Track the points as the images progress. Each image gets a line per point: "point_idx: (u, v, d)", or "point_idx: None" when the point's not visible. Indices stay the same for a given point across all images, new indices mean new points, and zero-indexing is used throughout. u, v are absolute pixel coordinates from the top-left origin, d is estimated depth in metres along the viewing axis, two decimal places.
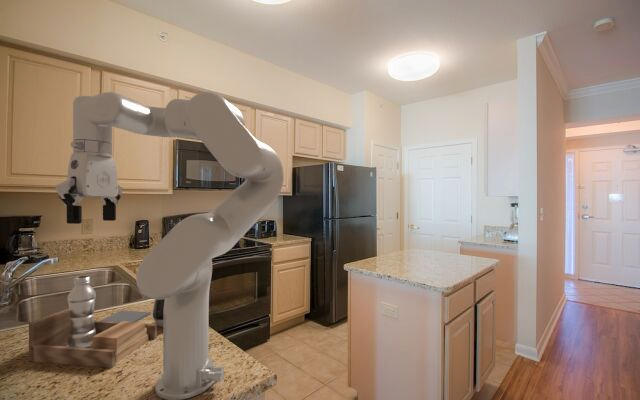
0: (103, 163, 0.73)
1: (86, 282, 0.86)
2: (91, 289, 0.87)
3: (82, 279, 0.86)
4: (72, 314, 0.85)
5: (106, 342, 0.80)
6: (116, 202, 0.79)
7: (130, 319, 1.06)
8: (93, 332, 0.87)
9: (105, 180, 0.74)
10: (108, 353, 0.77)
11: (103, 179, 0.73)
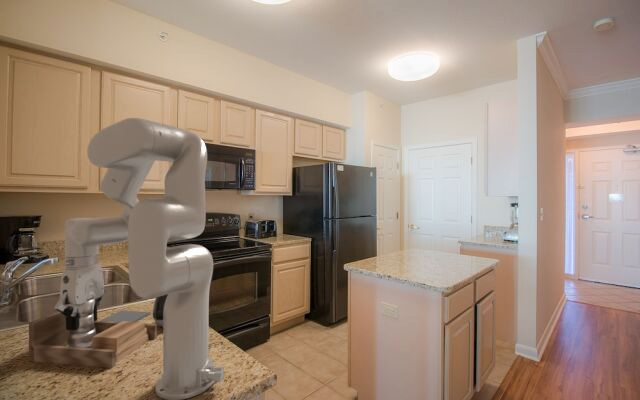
0: (90, 272, 0.87)
1: None
2: None
3: None
4: None
5: (106, 342, 0.80)
6: (97, 304, 0.91)
7: (130, 319, 1.06)
8: (93, 332, 0.87)
9: (92, 286, 0.87)
10: (108, 353, 0.77)
11: (90, 286, 0.87)
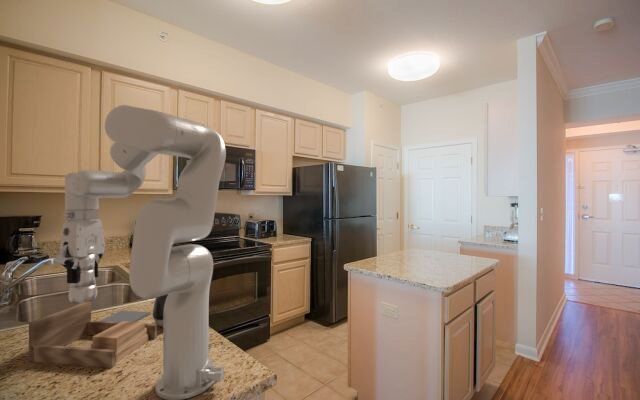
0: (91, 227, 0.87)
1: None
2: None
3: None
4: None
5: (106, 342, 0.80)
6: (98, 261, 0.91)
7: (130, 319, 1.06)
8: (94, 287, 0.87)
9: (93, 241, 0.87)
10: (108, 353, 0.77)
11: (91, 241, 0.86)
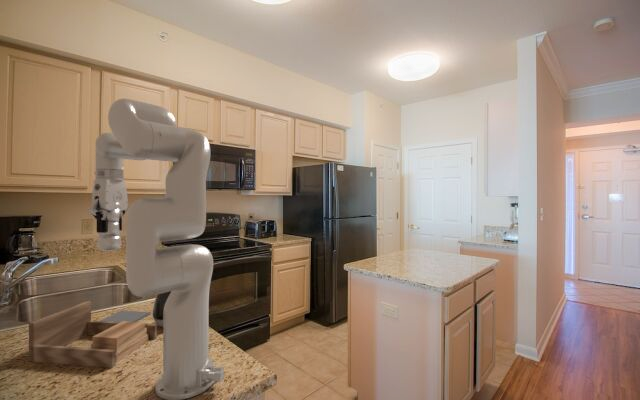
0: (117, 185, 0.99)
1: None
2: None
3: None
4: None
5: (106, 342, 0.80)
6: (122, 216, 1.03)
7: (130, 319, 1.06)
8: (119, 237, 1.00)
9: (118, 197, 1.00)
10: (108, 353, 0.77)
11: (117, 197, 0.99)
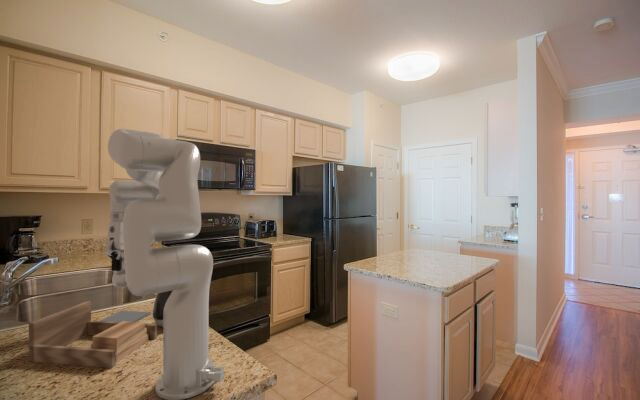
0: None
1: None
2: None
3: None
4: None
5: (106, 342, 0.80)
6: None
7: (130, 319, 1.06)
8: None
9: None
10: (108, 353, 0.77)
11: None
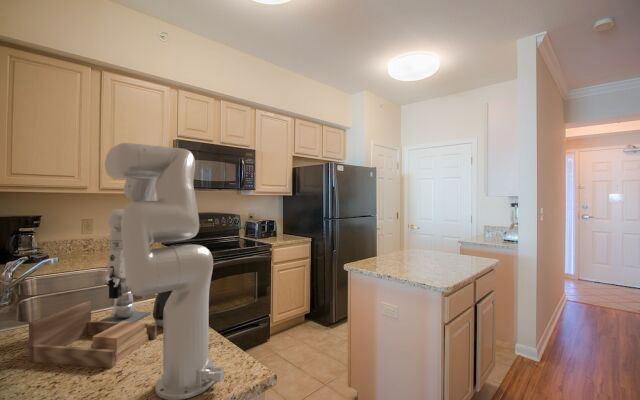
0: None
1: None
2: None
3: None
4: None
5: (106, 342, 0.80)
6: None
7: (130, 319, 1.06)
8: (132, 305, 1.08)
9: None
10: (108, 353, 0.77)
11: None
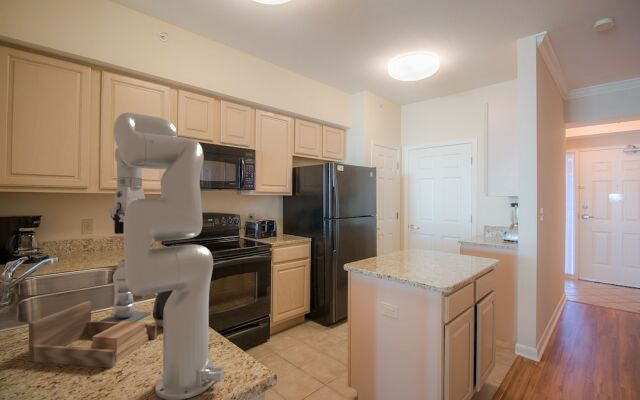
0: (137, 192, 1.08)
1: None
2: None
3: (124, 262, 1.06)
4: (117, 290, 1.05)
5: (106, 342, 0.80)
6: None
7: (130, 319, 1.06)
8: (132, 305, 1.08)
9: None
10: (108, 353, 0.77)
11: None
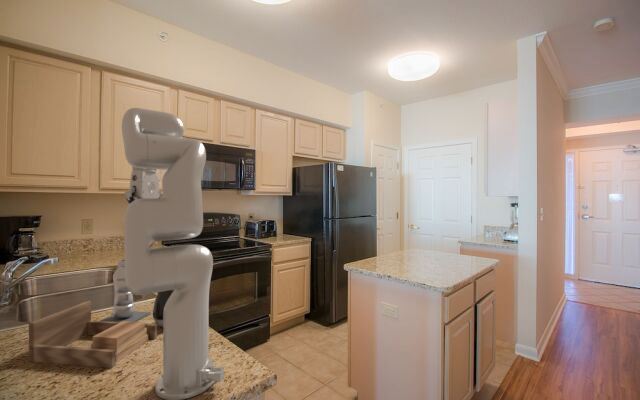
0: (151, 176, 1.10)
1: None
2: None
3: (124, 262, 1.06)
4: (117, 290, 1.05)
5: (106, 342, 0.80)
6: None
7: (130, 319, 1.06)
8: (132, 305, 1.08)
9: (152, 188, 1.11)
10: (108, 353, 0.77)
11: (151, 187, 1.10)
